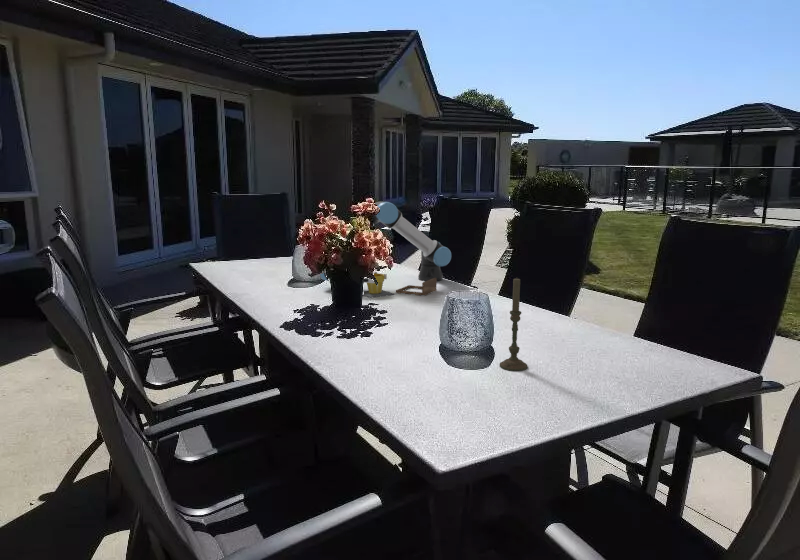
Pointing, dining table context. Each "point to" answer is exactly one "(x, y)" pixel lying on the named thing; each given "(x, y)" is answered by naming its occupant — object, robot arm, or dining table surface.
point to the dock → (426, 288)
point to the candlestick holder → (514, 333)
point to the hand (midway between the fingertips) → (380, 278)
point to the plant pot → (373, 287)
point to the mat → (383, 293)
